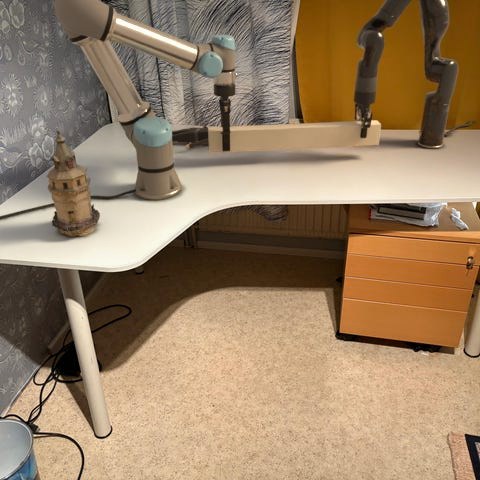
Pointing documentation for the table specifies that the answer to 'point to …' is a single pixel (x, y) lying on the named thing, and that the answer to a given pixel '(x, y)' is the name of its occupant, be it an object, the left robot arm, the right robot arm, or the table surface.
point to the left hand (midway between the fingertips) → (225, 147)
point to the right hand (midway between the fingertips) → (361, 135)
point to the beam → (294, 136)
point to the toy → (191, 136)
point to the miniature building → (70, 193)
